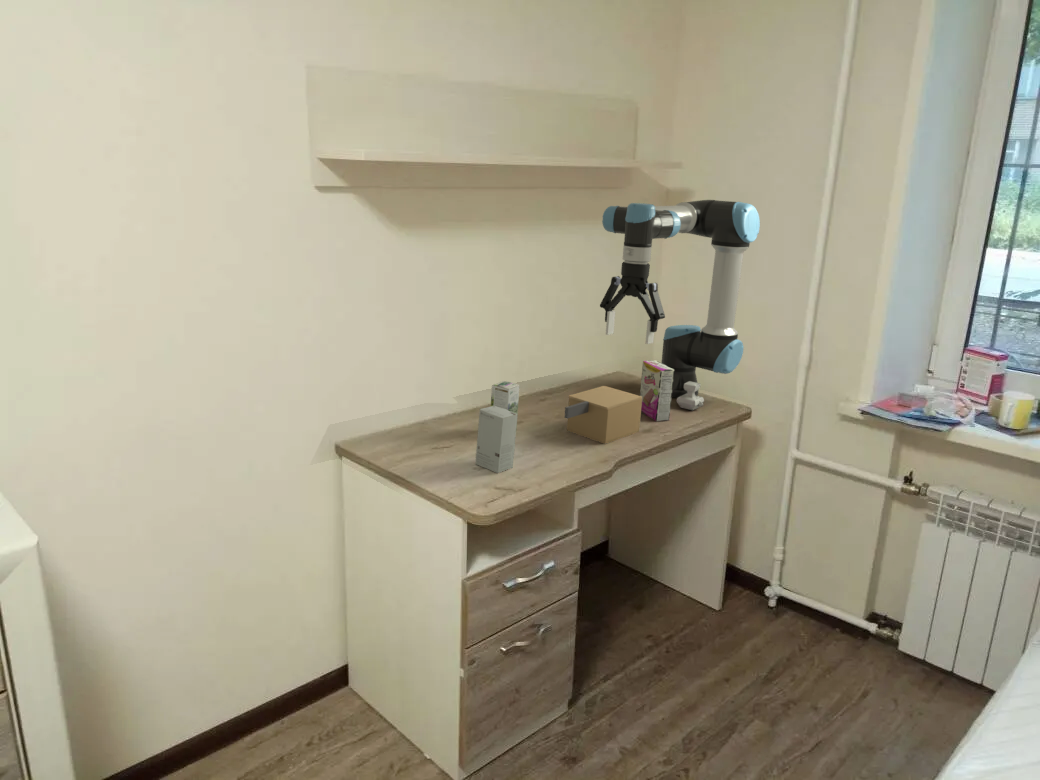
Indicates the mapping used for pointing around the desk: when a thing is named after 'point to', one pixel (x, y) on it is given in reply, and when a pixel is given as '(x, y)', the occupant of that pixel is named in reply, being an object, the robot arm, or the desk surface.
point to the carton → (606, 421)
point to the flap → (599, 400)
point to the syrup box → (505, 396)
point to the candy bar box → (656, 390)
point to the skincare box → (496, 438)
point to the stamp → (690, 397)
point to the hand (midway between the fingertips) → (629, 338)
